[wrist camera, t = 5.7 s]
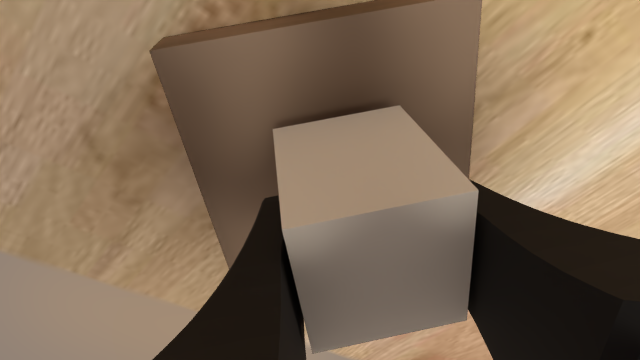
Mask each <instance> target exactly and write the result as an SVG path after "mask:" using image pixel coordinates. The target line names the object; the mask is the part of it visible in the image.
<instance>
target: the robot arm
mask: <svg viewBox="0 0 640 360" xmlns="http://www.w3.org/2000/svg"><path fill="white" fill-rule="evenodd" d="M469 180H470V179H469ZM470 182H471V183H472V184H473V185H474V186H475V187H476V188H477V189H478V190H479V192H478V203H477V214H476V225H475V235H474V246H473V257H472V268H471V279H470V290H469V301H468V310H469V312H470V314H471V315H472V317H473V319H474V321H475V323H476V325H477V327H478V329H479V331H480V333H481V335H482V337H483V339H484V341H485V343H486V345H487V347H488V349H489V351H490V354H491V356H492V358H493V360H640V239H636V238H632V237H628V236H623V235H619V234H615V233H611V232H607V231H603V230H600V229H596V228H592V227H588V226H585V225H581V224H578V223H574V222H571V221H568V220H565V219H562V218H559V217H556V216H553V215H550V214H547V213H544V212H542V211H539V210H536V209H534V208H531V207H529V206H526V205H524V204H521V203H519V202H517V201H514V200H512V199H509V198H507V197H505V196H503V195H501V194H498V193H496V192H494V191H492V190H490V189H488V188H486V187H484V186H482V185H480V184H478V183H476V182H474V181H472V180H470ZM153 360H306V352H305V338H304V317H303V313H302V309H301V305H300V301H299V297H298V293H297V289H296V285H295V281H294V277H293V273H292V269H291V264H290V260H289V256H288V252H287V248H286V244H285V240H284V236H283V232H282V225H281V214H280V203H279V195H277V196H272V197H267V198H265V199H264V200H263V201H262V204H261V207H260V209H259V212H258V215H257V217H256V220H255V222H254V224H253V227H252V229H251V231H250V233H249V235H248V237H247V239H246V241H245V243H244V245H243V247H242V249H241V251H240V252H239V254H238V256H237V258H236V259H235V261H234V263H233V265H232V266H231V268H230V269H229V271H228V273H227V274H226V276H225V277H224V279H223V280H222V282H221V283H220V285H219V286H218V287H217V289H216V290H215V292H214V293H213V294H212V296H211V297H210V298H209V299H208V301H207V302H206V303H205V304H204V306H203V307H202V308H201V309H200V311H199V312H198V313H197V314H196V316H195V317H194V318H193V319H192V320H191V321H190V322H189V323H188V325H187V326H186V327H185V328H184V329H183V330H182V331H181V332H180V333H179V334H178V335H177V336H176V337H175V338H174V339H173V340H172V341H171V342H170V343H169V344H168V345H167V346H166V347H165V348H164V349H163V350H162V351H161V352H160V353H159V354H158V355H157V356H156V357H155V358H154V359H153Z"/></svg>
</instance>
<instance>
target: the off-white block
mask: <svg viewBox="0 0 640 360" xmlns="http://www.w3.org/2000/svg"><path fill="white" fill-rule="evenodd" d="M273 138H274V149H275V160H276V171H277V181H278V192H279V203H280V214H281V225H282V232H283V236H284V240H285V244H286V248H287V252H288V256H289V260H290V264H291V269H292V273H293V277H294V281H295V285H296V289H297V293H298V297H299V301H300V305H301V309H302V313H303V317H304V321H305V325H306V329H307V333H308V337H309V341H310V345H311V350H312V353H313V354H314V353H318V352H323V351H328V350H332V349H337V348H342V347H346V346H351V345H355V344H360V343H364V342H369V341H374V340H378V339H383V338H387V337H392V336H397V335H401V334H406V333H410V332H415V331H420V330H424V329H429V328H433V327H438V326H443V325H447V324H452V323H456V322H461V321H465V320H467V312H468V301H469V290H470V279H471V268H472V257H473V246H474V235H475V225H476V214H477V203H478V192H479V190H478V189H477V188H476V187H475V186H474V185H473V184H472V183H471V182H470V180H469V179H468V178H467V177H466V176H465V175H464V174H463V173H462V172H461V171H460V170H459V169H458V168H457V166H456V165H455V164H454V163H453V162H452V161H451V160H450V159H449V158H448V157H447V156H446V155H445V154H444V152H443V151H442V150H441V149H440V148H439V147H438V146H437V145H436V144H435V143H434V142H433V141H432V140H431V138H430V137H429V136H428V135H427V134H426V133H425V132H424V131H423V130H422V129H421V128H420V127H419V126H418V125H417V123H416V122H415V121H414V120H413V119H412V118H411V117H410V116H409V115H408V114H407V113H406V112H405V111H404V109H403V108H402V107H401V106H400V105H398V106H393V107H388V108H382V109H377V110H372V111H366V112H361V113H356V114H351V115H345V116H340V117H335V118H329V119H324V120H319V121H313V122H308V123H303V124H297V125H292V126H287V127H282V128H276V129H273Z"/></svg>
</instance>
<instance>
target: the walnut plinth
mask: <svg viewBox="0 0 640 360" xmlns="http://www.w3.org/2000/svg"><path fill="white" fill-rule="evenodd" d="M481 8H482V0H375V1H369V2H364V3H358V4H352V5H347V6H341V7H335V8H329V9H324V10H318V11H312V12H307V13H301V14H295V15H289V16H284V17H278V18H272V19H267V20H261V21H255V22H249V23H244V24H238V25H232V26H227V27H221V28H215V29H209V30H204V31H198V32H192V33H187V34H181V35H175V36H169V37H164V38H162V39H161V40H160V41H159V42H158V43H157V44H156V45H155V46H154V47H153V48H152V49H151V50H150V54H151V57H152V59H153V62H154V65H155V68H156V70H157V73H158V76H159V78H160V81H161V84H162V87H163V89H164V92H165V95H166V98H167V100H168V103H169V106H170V109H171V111H172V114H173V117H174V120H175V122H176V125H177V128H178V130H179V133H180V136H181V139H182V141H183V144H184V147H185V150H186V152H187V155H188V158H189V161H190V163H191V166H192V169H193V172H194V174H195V177H196V180H197V182H198V185H199V188H200V191H201V193H202V196H203V199H204V202H205V204H206V207H207V210H208V213H209V215H210V218H211V221H212V224H213V226H214V229H215V232H216V234H217V237H218V240H219V243H220V245H221V248H222V251H223V254H224V256H225V259H226V262H227V265H228V267H229V269H230V268H231V266H232V265H233V263H234V261H235V259H236V258H237V256H238V254H239V252H240V251H241V249H242V247H243V245H244V243H245V241H246V239H247V237H248V235H249V233H250V231H251V229H252V227H253V224H254V222H255V220H256V217H257V215H258V212H259V209H260V207H261V204H262V201H263V200H264V199H265V198H267V197H272V196H277V195H279V192H278V181H277V171H276V160H275V149H274V138H273V129H276V128H282V127H287V126H292V125H297V124H303V123H308V122H313V121H319V120H324V119H329V118H335V117H340V116H345V115H351V114H356V113H361V112H366V111H372V110H377V109H382V108H388V107H393V106H398V105H400V106H401V107H402V108H403V109H404V111H405V112H406V113H407V114H408V115H409V116H410V117H411V118H412V119H413V120H414V121H415V122H416V123H417V125H418V126H419V127H420V128H421V129H422V130H423V131H424V132H425V133H426V134H427V135H428V136H429V137H430V138H431V140H432V141H433V142H434V143H435V144H436V145H437V146H438V147H439V148H440V149H441V150H442V151H443V152H444V154H445V155H446V156H447V157H448V158H449V159H450V160H451V161H452V162H453V163H454V164H455V165H456V166H457V168H458V169H459V170H460V171H461V172H462V173H463V174H464V175H465V176H466V177H467V178H468V179H469V169H470V155H471V142H472V129H473V115H474V102H475V88H476V75H477V61H478V48H479V35H480V21H481Z"/></svg>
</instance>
